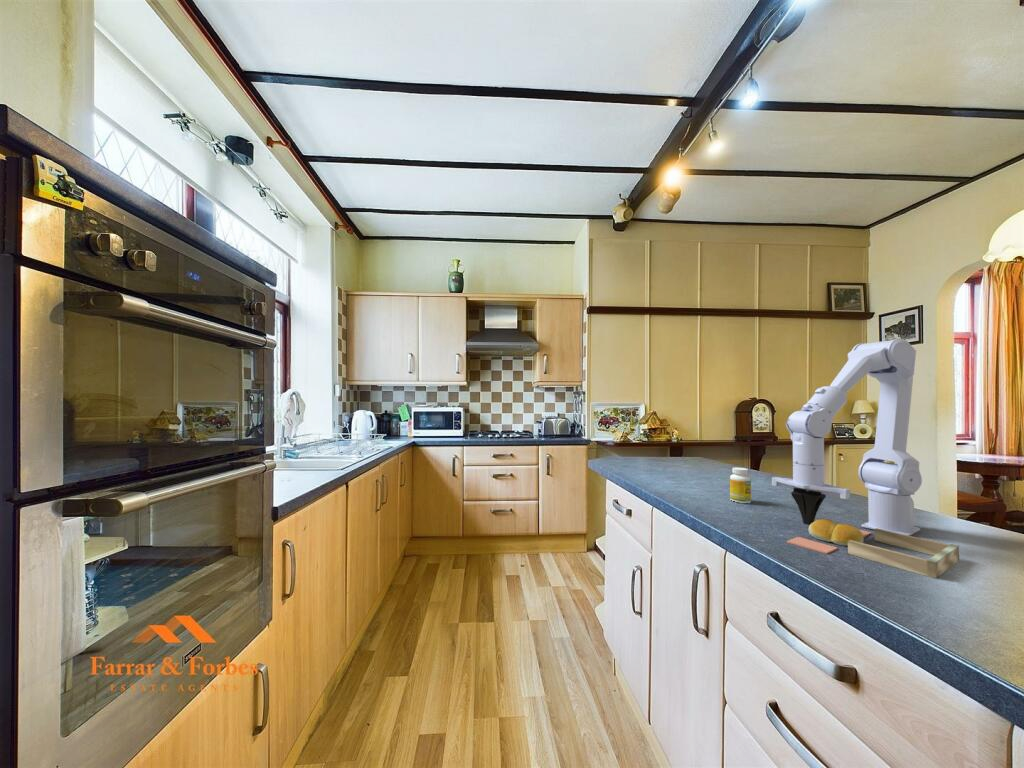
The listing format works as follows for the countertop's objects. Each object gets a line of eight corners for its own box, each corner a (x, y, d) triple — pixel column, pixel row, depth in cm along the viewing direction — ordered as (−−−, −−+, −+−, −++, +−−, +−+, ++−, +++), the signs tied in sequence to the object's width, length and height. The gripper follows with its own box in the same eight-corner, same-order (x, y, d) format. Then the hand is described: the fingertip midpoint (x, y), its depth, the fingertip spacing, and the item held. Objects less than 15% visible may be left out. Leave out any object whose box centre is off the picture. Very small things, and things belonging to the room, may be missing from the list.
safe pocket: (876, 539, 85) (876, 527, 85) (959, 560, 75) (958, 545, 75) (847, 553, 77) (847, 539, 77) (935, 578, 67) (935, 562, 67)
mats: (833, 524, 95) (833, 523, 95) (871, 533, 89) (871, 532, 89) (786, 542, 83) (786, 541, 83) (826, 554, 77) (826, 552, 77)
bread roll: (858, 550, 79) (858, 530, 79) (805, 537, 86) (805, 519, 86) (868, 541, 84) (868, 522, 84) (817, 530, 91) (816, 512, 91)
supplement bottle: (733, 498, 119) (733, 466, 119) (753, 501, 115) (753, 468, 116) (727, 501, 115) (727, 468, 116) (747, 505, 112) (747, 471, 112)
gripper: (765, 460, 94) (765, 517, 94) (839, 470, 82) (840, 536, 81) (779, 458, 98) (780, 513, 97) (853, 467, 85) (854, 531, 85)
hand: (808, 523), depth 90 cm, fingers closed
